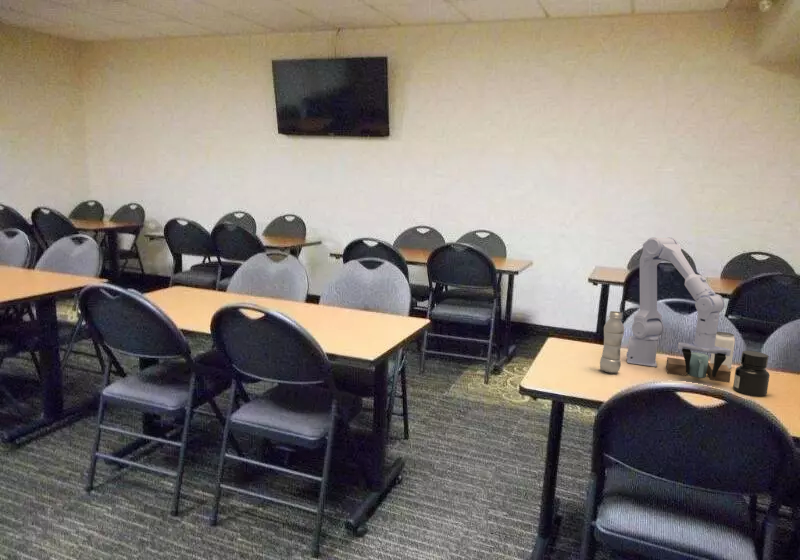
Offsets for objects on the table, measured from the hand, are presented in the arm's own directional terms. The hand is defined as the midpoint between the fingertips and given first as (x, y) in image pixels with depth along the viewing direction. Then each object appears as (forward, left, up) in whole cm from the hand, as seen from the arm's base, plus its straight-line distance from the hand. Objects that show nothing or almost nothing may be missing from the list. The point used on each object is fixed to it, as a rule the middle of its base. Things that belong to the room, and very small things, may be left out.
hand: (700, 374), depth 181 cm
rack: (0, +7, -2) cm, 8 cm away
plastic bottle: (-27, -5, -3) cm, 28 cm away
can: (+9, +22, -3) cm, 24 cm away
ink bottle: (+13, -3, -3) cm, 14 cm away
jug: (0, +5, -2) cm, 5 cm away
